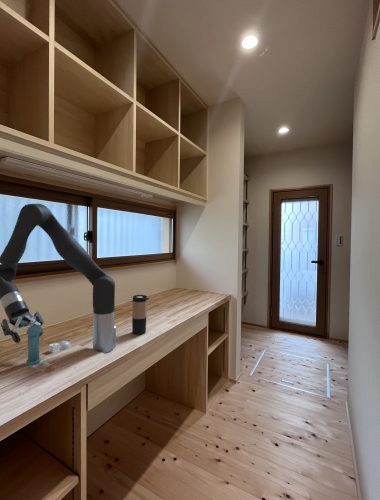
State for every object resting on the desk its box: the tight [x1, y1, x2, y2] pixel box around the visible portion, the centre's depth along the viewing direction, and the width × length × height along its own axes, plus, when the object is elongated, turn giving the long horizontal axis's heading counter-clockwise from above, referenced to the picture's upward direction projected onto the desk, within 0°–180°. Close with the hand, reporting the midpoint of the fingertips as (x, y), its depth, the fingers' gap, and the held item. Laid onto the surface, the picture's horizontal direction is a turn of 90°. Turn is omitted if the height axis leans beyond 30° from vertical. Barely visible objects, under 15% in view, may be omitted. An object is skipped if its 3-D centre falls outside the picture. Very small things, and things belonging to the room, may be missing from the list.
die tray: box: [48, 340, 72, 354], centre depth 112 cm, size 10×8×6 cm
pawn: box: [25, 325, 42, 366], centre depth 99 cm, size 5×5×14 cm
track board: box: [23, 359, 60, 375], centre depth 97 cm, size 7×16×1 cm, turn 62°
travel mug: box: [131, 294, 148, 336], centre depth 138 cm, size 8×8×20 cm
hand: (30, 338), depth 100 cm, fingers open, 8 cm apart
